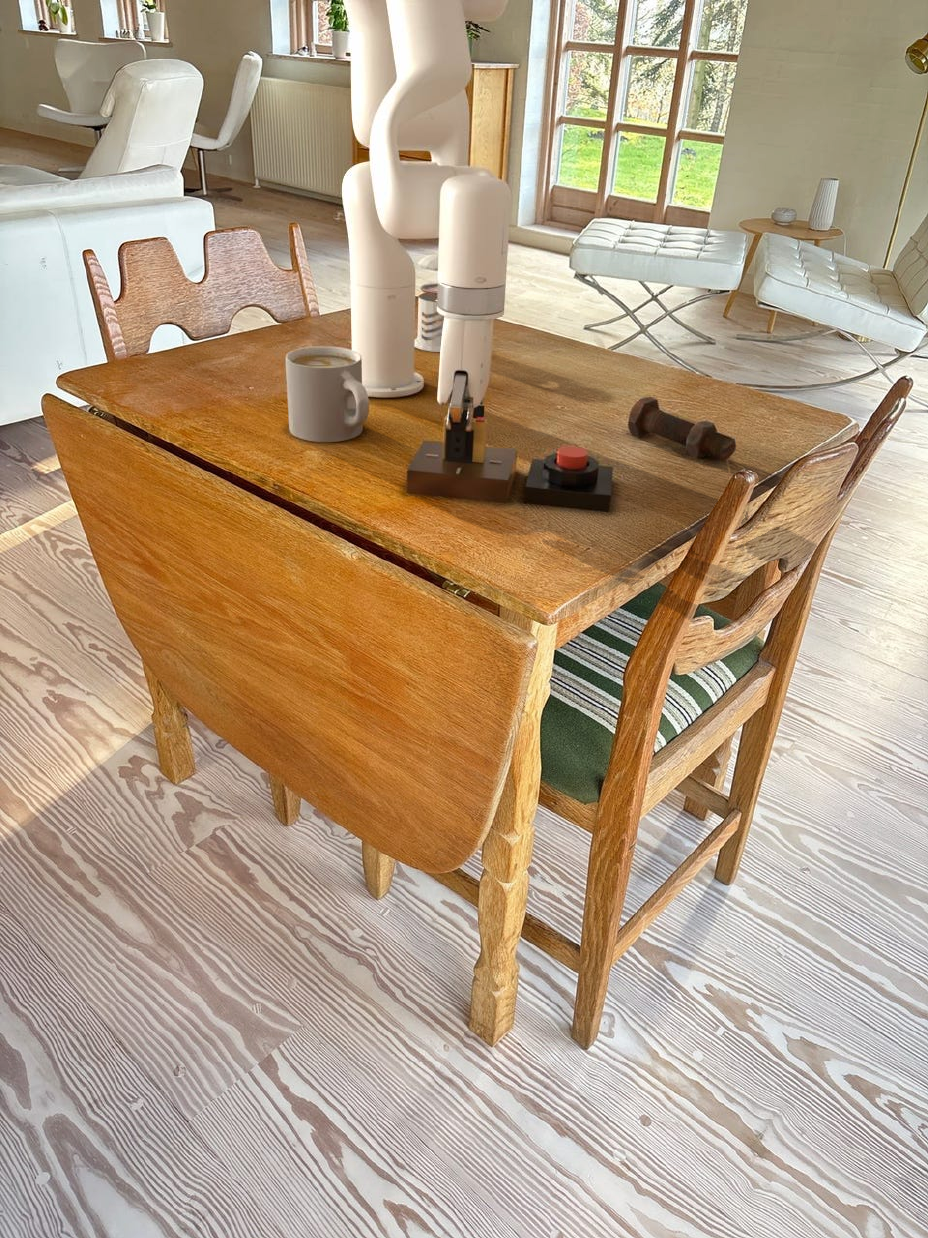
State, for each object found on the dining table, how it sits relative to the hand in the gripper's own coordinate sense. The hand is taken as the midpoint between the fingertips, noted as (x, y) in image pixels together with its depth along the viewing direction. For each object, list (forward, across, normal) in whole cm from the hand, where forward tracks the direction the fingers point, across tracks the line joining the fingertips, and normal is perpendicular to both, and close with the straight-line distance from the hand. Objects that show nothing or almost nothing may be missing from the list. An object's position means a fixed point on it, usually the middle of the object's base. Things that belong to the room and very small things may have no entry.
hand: (464, 447), depth 115 cm
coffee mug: (+5, -12, -20) cm, 24 cm away
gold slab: (+1, 0, 0) cm, 1 cm away
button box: (+5, 0, +13) cm, 14 cm away
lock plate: (+4, 0, 0) cm, 4 cm away
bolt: (+5, -19, +27) cm, 33 cm away
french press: (+5, -60, -13) cm, 62 cm away
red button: (+1, 0, +13) cm, 13 cm away
